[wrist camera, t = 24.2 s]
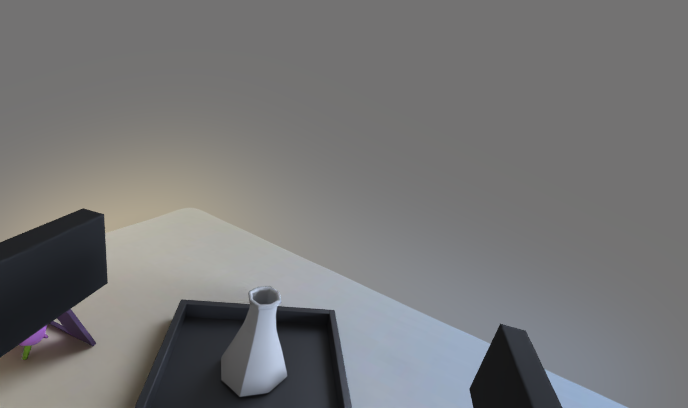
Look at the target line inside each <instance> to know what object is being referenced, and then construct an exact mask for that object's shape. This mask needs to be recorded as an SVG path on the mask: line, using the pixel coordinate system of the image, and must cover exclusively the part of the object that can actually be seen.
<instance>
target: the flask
mask: <svg viewBox="0 0 688 408" xmlns="http://www.w3.org/2000/svg"><path fill="white" fill-rule="evenodd" d="M249 301H250V308H249V311H248V314H247V316H246V319H245V321H244V323H243V325H242V326H241V328H240V330H239V331H238V333H237V334H236V336H235V338H234V339H233V341H232V342H231V344H230V345H229V346H228V348H227V349H226V351H225V352H224V354H223V355H222V357H221V380H222V381H223V382H224V383H226V384H227V385H228V386H229V387H230V388H231V389H232V390H233V391H234V392H235V393H236V394H237V395H238V396H240V397H242V396H249V395H257V394H264V393H269V392H270V391H271V390H272V389H274V388H275V387H276V386H277V385H278V384H279V383H280V382H282V381H283V380H284V379H285V378H286V377H287V371H286V366H285V362H284V357H283V352H282V349H281V345H280V342H279V338H278V334H277V330H276V310H277V306H278V305H279V304H280V303H281V297H280V293H279V292H278V291H277V290H275V289H274V288H272V287H271V286H265V287H257V288H255V289H253V290H251V291H249Z"/></svg>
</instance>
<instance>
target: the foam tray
mask: <svg viewBox="0 0 688 408" xmlns="http://www.w3.org/2000/svg"><path fill="white" fill-rule="evenodd" d="M249 308H250V304H239V303H224V302H210V301H196V300H181V301H180V303H179V306H178V308H177V310H176V313H175V315H174V317H173V320H172V322H171V324H170V326H169V329H168V331H167V333H166V336H165V338H164V340H163V343H162V345H161V347H160V350H159V352H158V354H157V357H156V359H155V361H154V364H153V366H152V368H151V371H150V373H149V375H148V378H147V380H146V382H145V385H144V387H143V389H142V392H141V394H140V396H139V399H138V401H137V403H136V406H135V408H352V406H351V400H350V394H349V389H348V383H347V378H346V372H345V366H344V361H343V355H342V350H341V344H340V338H339V333H338V327H337V321H336V316H335V311H334V310H325V309H310V308H296V307H282V306H277V310H276V330H277V334H278V338H279V342H280V345H281V349H282V352H283V357H284V362H285V366H286V371H287V377H286V378H285V379H284V380H283V381H282V382H280V383H279V384H278V385H277V386H276V387H275V388H274V389H272V390H271V391H270V392H269V393H264V394H257V395H249V396H242V397H240V396H238V395H237V394H236V393H235V392H234V391H233V390H232V389H231V388H230V387H229V386H228V385H227V384H226V383H224V382H223V381H222V380H221V357H222V355H223V354H224V352H225V351H226V349H227V348H228V346H229V345H230V344H231V342H232V341H233V339H234V338H235V336H236V334H237V333H238V331H239V330H240V328H241V326H242V325H243V323H244V321H245V319H246V316H247V314H248V311H249Z"/></svg>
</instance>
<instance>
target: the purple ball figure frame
mask: <svg viewBox="0 0 688 408" xmlns="http://www.w3.org/2000/svg"><path fill="white" fill-rule="evenodd" d="M57 319H58V320H59V321H60V322H61V324H62V325H63V326H62V325H60V324H58V323H56V322H54V321H52V322H51V323H49V324H50V325H52V326H54V327H56V328H58V329H60V330H62V331H64V332H66V333H68V334H70V335H72V336H74V337H76V338H78V339H79V340H81V341H83V342H85V343H87V344H89V345H91V346H94V345H95V344H96V342H95V341H94V339H93V338H92V337H91V335H90V334H89V333H88V331H87V330H86V329H85V327H84V326H83V325H82V323H81V322H80V321H79V319H78V318H77V317H76V315H75V314H74V313H73V311H72V310H71V309H69V310H68V311H66V312H65V313H64V314H62V315H61V316H59V317H58V318H57ZM46 328H47V325H46V326H45V327H43V328H42V329H41V330H39V331H38V332H36V333H35V334H33V335H32V336H30V337H29V338H28V339H26V340H25V341H23V342H22V343H20V344H19V345H20V346H24V350H23V351H24V353H22V354H21V355H23V357H22V358H21V359H23V360H26V359H27V358H28V355H29V352H30V350H31V346H33V345H35V344H37V343H38V342H39V341H41V339H42V338H48V336H47V335H46V334H45V331H46Z"/></svg>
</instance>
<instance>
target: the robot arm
mask: <svg viewBox="0 0 688 408" xmlns="http://www.w3.org/2000/svg"><path fill="white" fill-rule="evenodd" d="M107 283H108V282H107V263H106V244H105V226H104V214H101V213H97V212H93V211H90V210H87V209H81V210H78V211H76V212H74V213H71V214H68V215H66V216H64V217H61V218H59V219H56V220H54V221H52V222H49V223H46V224H44V225H42V226H39V227H37V228H34V229H32V230H29V231H27V232H25V233H22V234H20V235H17V236H15V237H13V238H10V239H7V240H5V241H3V242H0V357H2V356H3V355H5V354H6V353H7V352H9V351H10V350H12V349H13V348H15V347H16V346H18V345H19V344H20V343H22V342H23V341H25V340H26V339H28V338H29V337H30V336H32V335H33V334H35V333H36V332H38V331H39V330H41V329H42V328H43V327H45V326H46V325H48V324H49V323H51V322H52V321H54V320H55V319H56V318H58V317H59V316H61V315H62V314H64V313H65V312H66V311H68V310H69V309H71V308H72V307H74V306H75V305H77V304H78V303H79V302H81V301H82V300H84V299H85V298H87V297H88V296H89V295H91V294H92V293H94V292H95V291H97V290H98V289H100V288H101V287H102V286H104V285H105V284H107ZM470 394H471V398H472V403H473V408H562V406H561V404H560V402H559V400H558V398H557V395H556V393H555V391H554V389H553V387H552V385H551V383H550V381H549V379H548V377H547V374H546V372H545V370H544V368H543V366H542V364H541V362H540V360H539V358H538V356H537V353H536V351H535V349H534V347H533V345H532V343H531V341H530V339H529V337H528V335H527V332H526V331H524V330H521V329H517V328H514V327H510V326H506V325H503V324H500V326H499V328H498V330H497V332H496V334H495V337H494V338H493V340H492V343H491V345H490V347H489V349H488V351H487V353H486V355H485V357H484V359H483V361H482V364H481V366H480V368H479V370H478V372H477V374H476V376H475V378H474V380H473V383H472V385H471V387H470Z"/></svg>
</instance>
